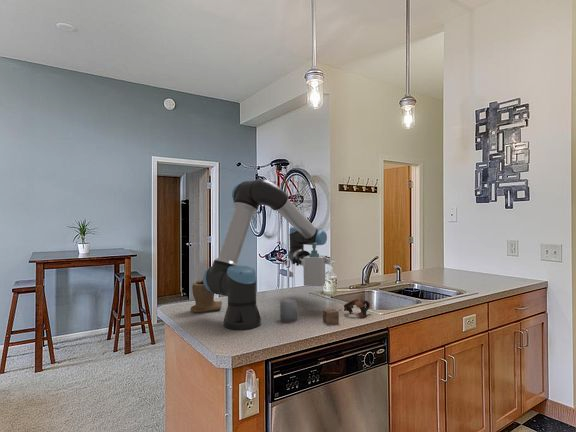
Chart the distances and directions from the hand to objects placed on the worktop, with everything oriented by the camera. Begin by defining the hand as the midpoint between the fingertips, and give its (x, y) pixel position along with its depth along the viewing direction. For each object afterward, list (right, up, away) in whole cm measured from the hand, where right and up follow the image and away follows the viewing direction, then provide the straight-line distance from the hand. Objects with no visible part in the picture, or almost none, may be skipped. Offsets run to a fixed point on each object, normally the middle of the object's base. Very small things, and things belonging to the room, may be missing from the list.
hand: (317, 262), depth 162 cm
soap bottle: (-1, -11, +4) cm, 11 cm away
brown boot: (-51, -24, +7) cm, 57 cm away
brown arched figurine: (+18, -23, -4) cm, 29 cm away
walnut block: (+4, -23, -15) cm, 28 cm away
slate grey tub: (-13, -23, -10) cm, 28 cm away
